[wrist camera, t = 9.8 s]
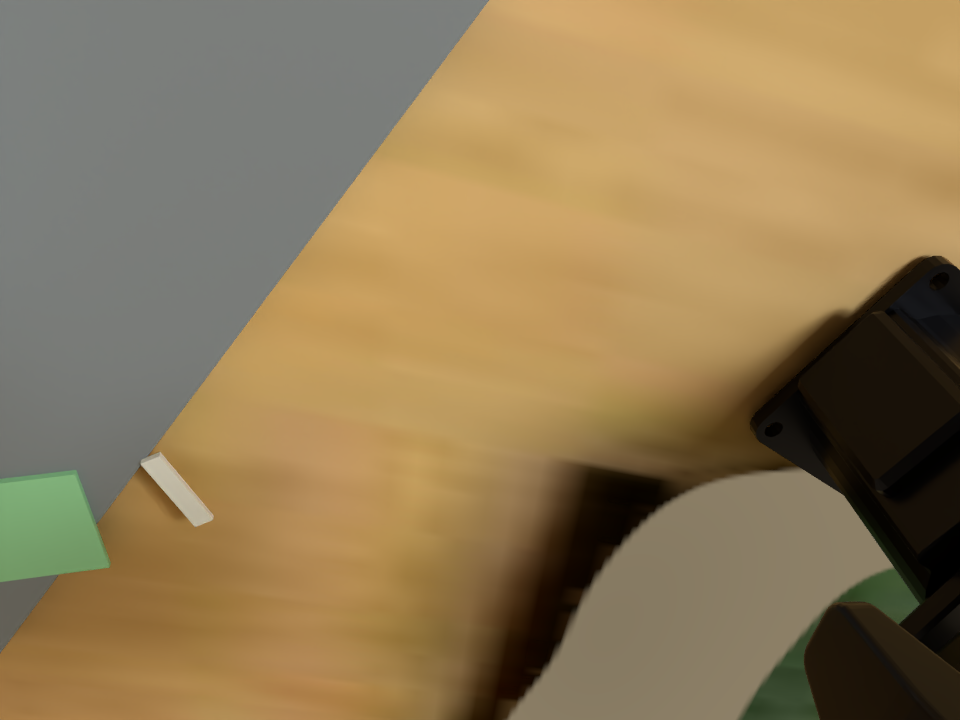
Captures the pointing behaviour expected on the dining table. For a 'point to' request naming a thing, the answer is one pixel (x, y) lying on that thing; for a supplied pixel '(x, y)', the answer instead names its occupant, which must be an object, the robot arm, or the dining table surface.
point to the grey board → (162, 223)
